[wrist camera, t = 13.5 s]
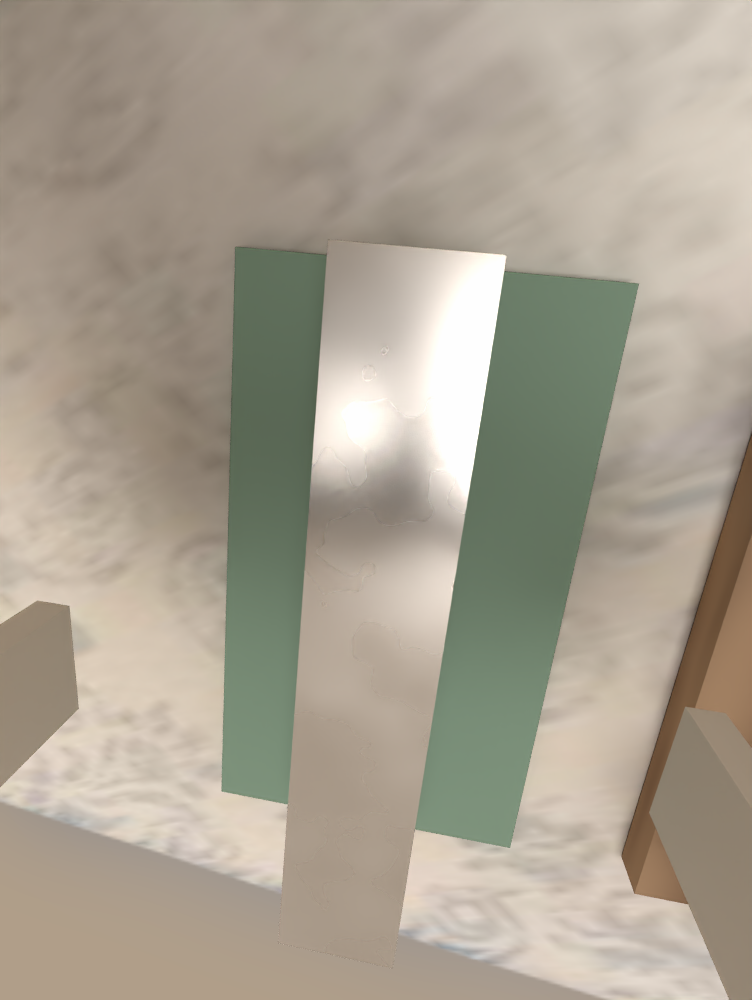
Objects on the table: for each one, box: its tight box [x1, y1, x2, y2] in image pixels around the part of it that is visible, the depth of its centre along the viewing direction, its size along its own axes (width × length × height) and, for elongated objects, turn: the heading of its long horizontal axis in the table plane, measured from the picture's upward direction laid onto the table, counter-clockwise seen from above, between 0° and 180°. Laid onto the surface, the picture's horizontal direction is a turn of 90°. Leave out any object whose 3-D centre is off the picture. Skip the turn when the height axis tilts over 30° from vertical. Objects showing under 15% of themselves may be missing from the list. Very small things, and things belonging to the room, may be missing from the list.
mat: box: [222, 247, 639, 848], centre depth 19 cm, size 12×21×1 cm, turn 174°
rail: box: [278, 239, 507, 968], centre depth 16 cm, size 4×20×5 cm, turn 174°
